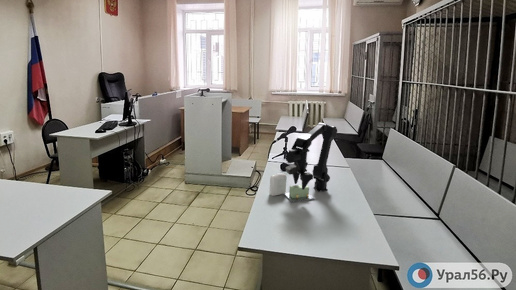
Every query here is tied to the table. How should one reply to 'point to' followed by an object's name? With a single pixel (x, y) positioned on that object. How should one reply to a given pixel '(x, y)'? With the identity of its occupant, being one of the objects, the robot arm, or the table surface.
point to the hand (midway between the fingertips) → (299, 186)
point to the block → (298, 191)
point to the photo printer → (277, 184)
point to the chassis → (298, 199)
